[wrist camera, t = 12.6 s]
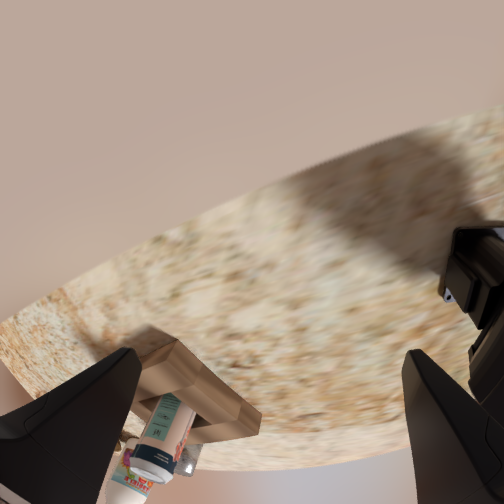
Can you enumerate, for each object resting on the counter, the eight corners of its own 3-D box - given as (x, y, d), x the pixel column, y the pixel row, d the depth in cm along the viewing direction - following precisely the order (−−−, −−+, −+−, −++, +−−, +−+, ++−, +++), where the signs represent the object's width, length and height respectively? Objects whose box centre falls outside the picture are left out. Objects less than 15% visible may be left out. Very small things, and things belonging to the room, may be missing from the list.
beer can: (183, 408, 32) (152, 484, 22) (157, 386, 31) (118, 463, 20) (209, 402, 31) (179, 487, 20) (182, 378, 29) (142, 466, 19)
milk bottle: (156, 458, 45) (125, 532, 27) (124, 440, 44) (87, 513, 26) (171, 453, 42) (137, 538, 24) (135, 433, 40) (93, 518, 23)
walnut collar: (177, 339, 27) (166, 360, 24) (262, 414, 30) (258, 434, 27) (112, 370, 32) (102, 386, 29) (185, 430, 35) (179, 445, 33)
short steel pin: (198, 437, 36) (187, 469, 30) (205, 448, 37) (195, 478, 32) (175, 433, 37) (162, 463, 31) (183, 444, 38) (172, 472, 33)
